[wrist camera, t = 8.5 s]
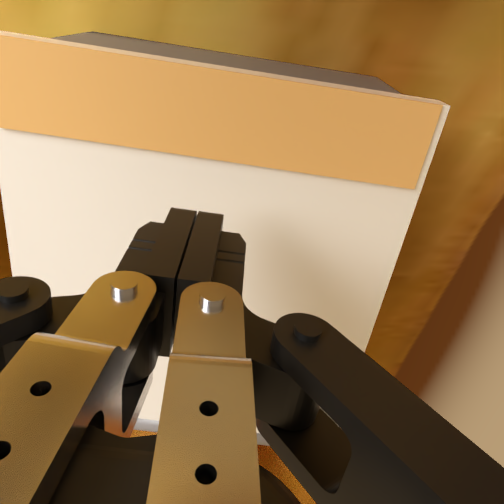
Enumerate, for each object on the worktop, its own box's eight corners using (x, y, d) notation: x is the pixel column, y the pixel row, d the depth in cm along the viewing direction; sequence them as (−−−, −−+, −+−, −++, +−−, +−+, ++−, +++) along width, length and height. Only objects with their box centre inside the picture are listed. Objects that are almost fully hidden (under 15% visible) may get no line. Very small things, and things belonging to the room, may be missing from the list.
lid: (-4, 30, 14) (-25, 31, 13) (440, 100, 15) (452, 107, 14) (40, 401, 22) (29, 421, 21) (326, 437, 23) (329, 457, 22)
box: (92, 31, 21) (10, 44, 15) (376, 76, 22) (425, 109, 15) (99, 300, 29) (48, 391, 22) (309, 329, 30) (322, 425, 23)
